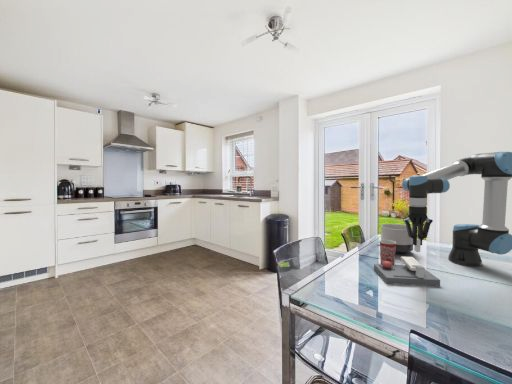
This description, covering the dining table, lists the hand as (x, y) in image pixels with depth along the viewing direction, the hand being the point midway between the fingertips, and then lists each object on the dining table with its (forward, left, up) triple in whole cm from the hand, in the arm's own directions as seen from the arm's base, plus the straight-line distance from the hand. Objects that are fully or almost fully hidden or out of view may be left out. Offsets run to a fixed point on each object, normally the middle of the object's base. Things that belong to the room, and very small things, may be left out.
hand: (417, 251), depth 119 cm
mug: (+5, -21, -15) cm, 26 cm away
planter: (-8, -44, -15) cm, 47 cm away
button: (+12, -5, -11) cm, 17 cm away
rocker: (0, -4, -8) cm, 9 cm away
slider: (+1, +6, -11) cm, 12 cm away
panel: (+5, -1, -14) cm, 15 cm away
